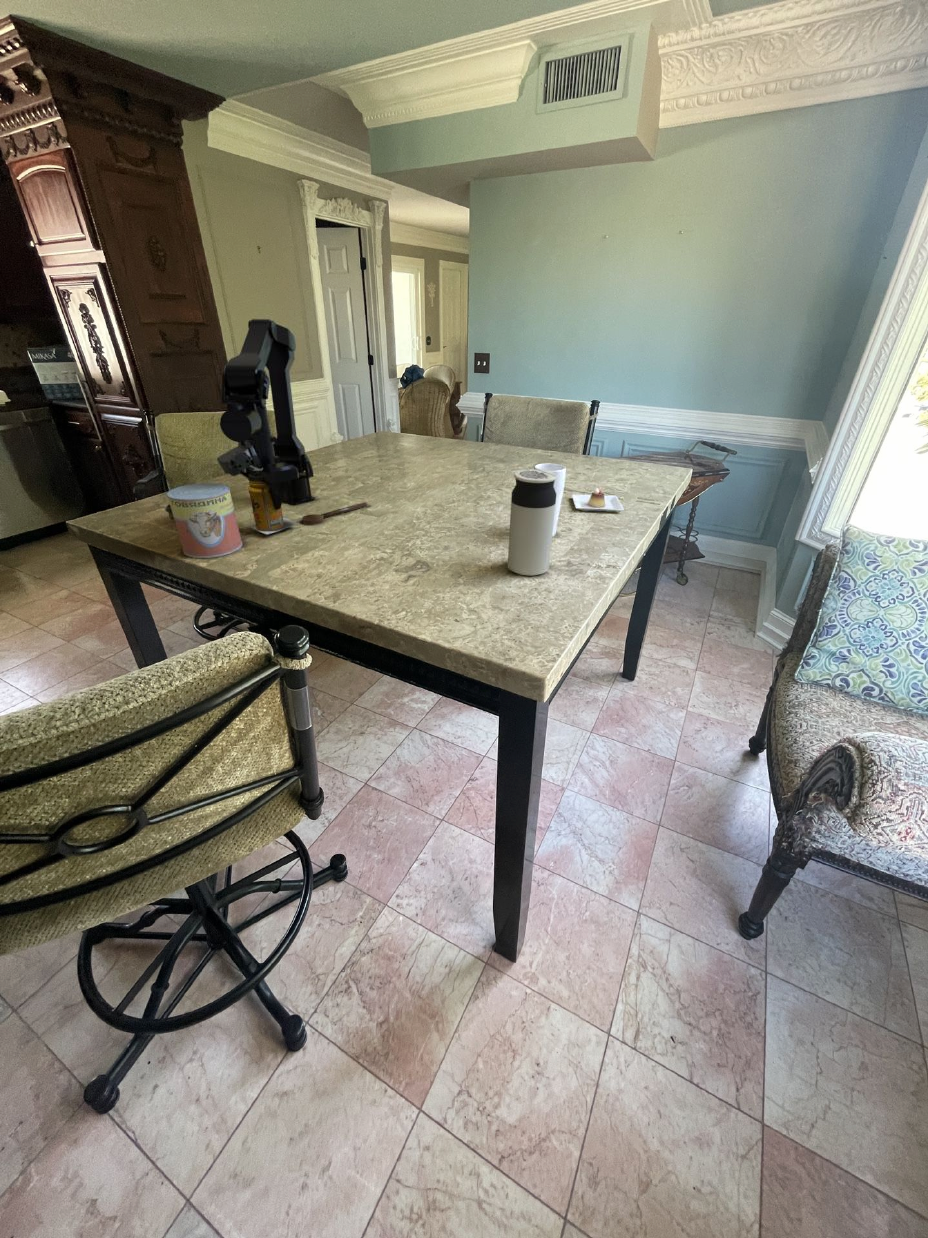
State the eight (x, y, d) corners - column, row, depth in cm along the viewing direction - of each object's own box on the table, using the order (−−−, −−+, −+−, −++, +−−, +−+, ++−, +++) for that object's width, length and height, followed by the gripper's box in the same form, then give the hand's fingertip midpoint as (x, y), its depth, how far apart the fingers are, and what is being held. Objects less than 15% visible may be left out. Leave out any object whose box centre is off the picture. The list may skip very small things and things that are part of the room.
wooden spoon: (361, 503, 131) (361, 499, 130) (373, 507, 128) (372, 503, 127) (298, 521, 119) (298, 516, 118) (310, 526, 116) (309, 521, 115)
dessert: (615, 499, 136) (618, 481, 133) (623, 514, 125) (626, 495, 123) (571, 497, 137) (573, 480, 134) (575, 512, 126) (577, 493, 124)
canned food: (184, 562, 98) (166, 502, 92) (182, 542, 107) (166, 486, 100) (245, 552, 103) (232, 494, 96) (239, 534, 111) (226, 480, 105)
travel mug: (519, 579, 93) (527, 482, 83) (500, 563, 99) (504, 471, 90) (556, 572, 95) (567, 477, 86) (535, 557, 102) (543, 467, 92)
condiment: (248, 526, 112) (237, 473, 106) (281, 516, 118) (272, 465, 111) (266, 535, 109) (256, 480, 102) (299, 524, 114) (292, 472, 108)
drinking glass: (561, 531, 114) (568, 464, 107) (556, 541, 109) (563, 472, 101) (532, 527, 116) (537, 462, 109) (525, 537, 111) (530, 469, 103)
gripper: (196, 430, 103) (215, 504, 111) (240, 444, 92) (257, 525, 100) (248, 424, 110) (262, 494, 118) (294, 436, 99) (306, 512, 107)
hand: (270, 505), depth 111 cm, fingers closed on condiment, 6 cm apart
